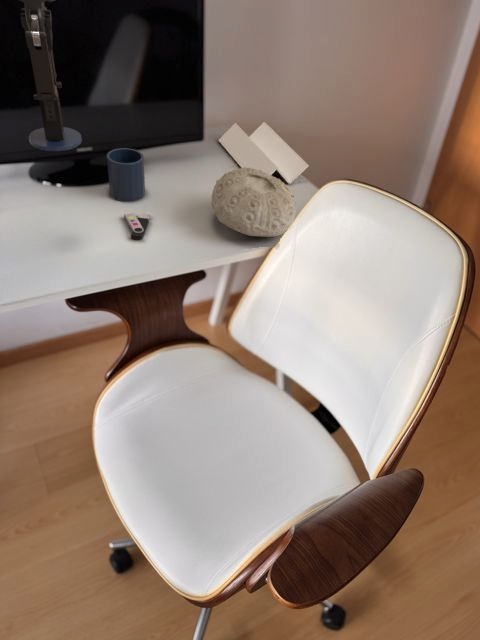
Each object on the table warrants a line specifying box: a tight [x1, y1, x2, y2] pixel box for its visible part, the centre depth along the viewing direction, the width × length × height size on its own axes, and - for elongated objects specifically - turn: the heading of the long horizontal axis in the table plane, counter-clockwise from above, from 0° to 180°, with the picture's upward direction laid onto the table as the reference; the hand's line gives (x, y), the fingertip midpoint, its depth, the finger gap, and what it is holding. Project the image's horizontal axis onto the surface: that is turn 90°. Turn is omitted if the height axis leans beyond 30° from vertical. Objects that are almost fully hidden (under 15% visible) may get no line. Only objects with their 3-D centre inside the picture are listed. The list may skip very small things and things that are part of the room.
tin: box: [106, 147, 146, 203], centre depth 116 cm, size 7×7×8 cm
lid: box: [28, 85, 83, 152], centre depth 87 cm, size 8×8×9 cm
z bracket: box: [218, 121, 309, 185], centre depth 136 cm, size 12×25×6 cm
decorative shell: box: [210, 167, 297, 238], centre depth 112 cm, size 18×18×10 cm
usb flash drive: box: [123, 212, 151, 241], centre depth 110 cm, size 9×5×1 cm, turn 177°
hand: (54, 134), depth 90 cm, fingers closed on lid, 3 cm apart
